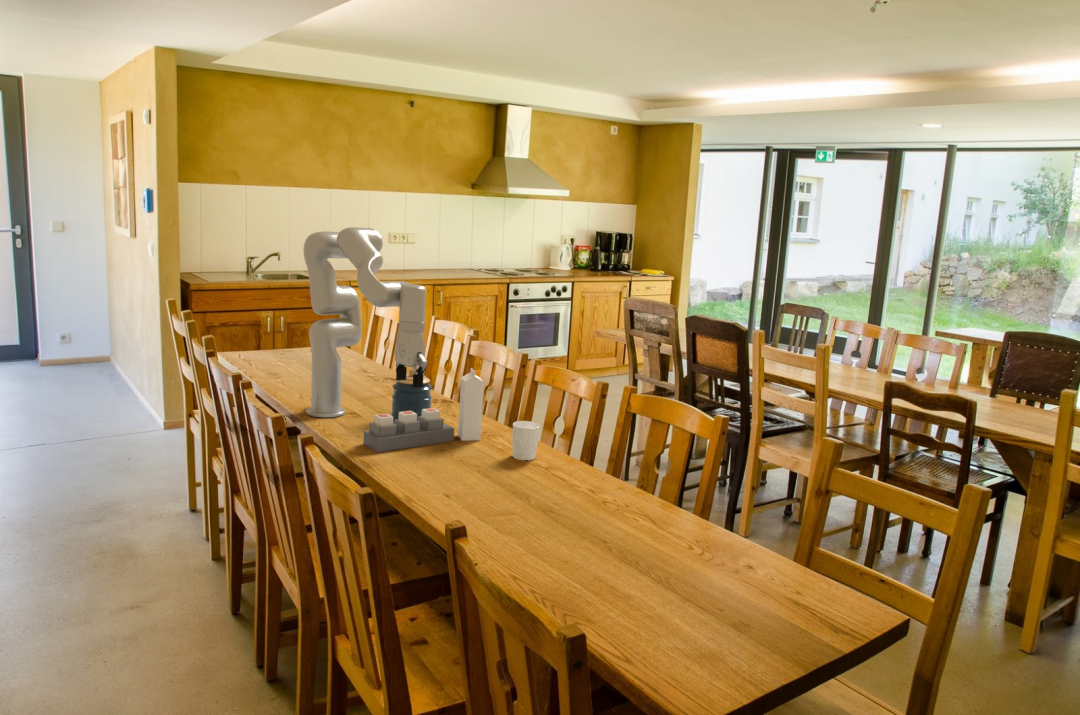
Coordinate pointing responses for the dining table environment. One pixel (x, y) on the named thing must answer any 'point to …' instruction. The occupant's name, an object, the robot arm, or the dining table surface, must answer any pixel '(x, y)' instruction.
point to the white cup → (525, 440)
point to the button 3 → (430, 414)
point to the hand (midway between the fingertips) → (409, 383)
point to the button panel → (407, 435)
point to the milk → (470, 407)
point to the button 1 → (383, 420)
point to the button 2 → (407, 417)
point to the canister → (410, 396)
